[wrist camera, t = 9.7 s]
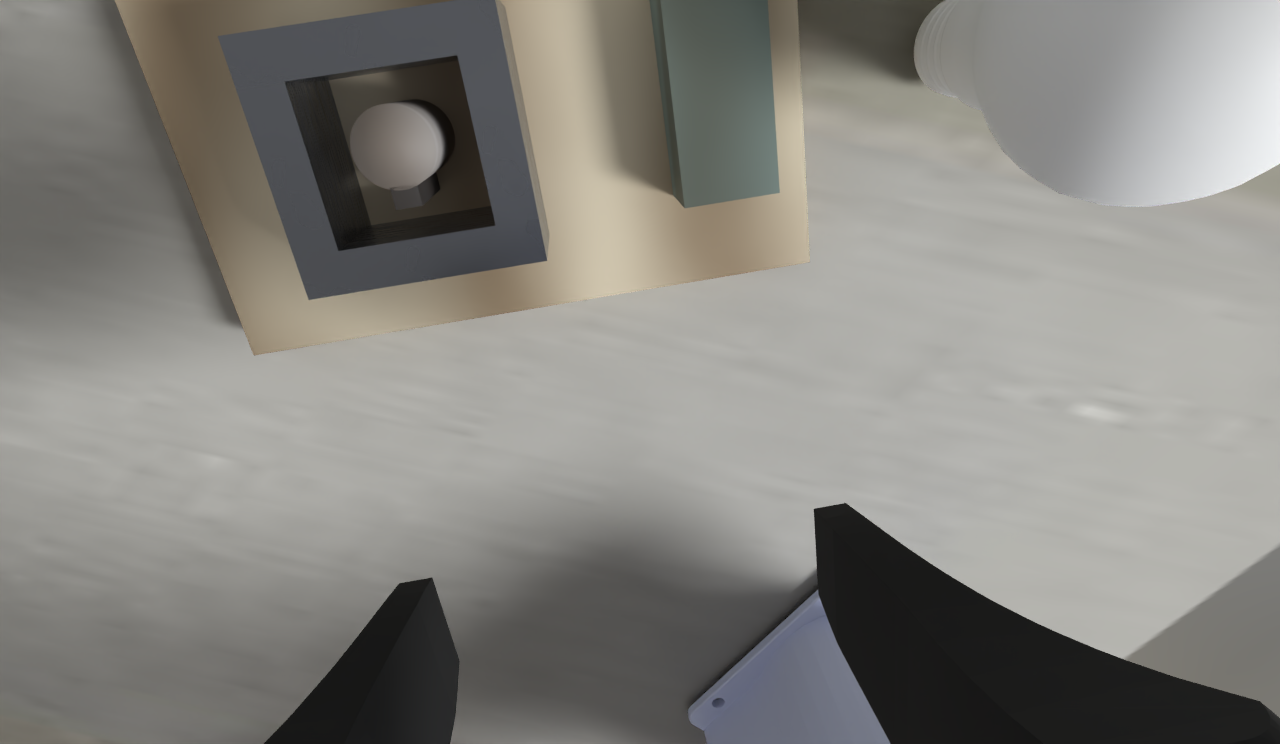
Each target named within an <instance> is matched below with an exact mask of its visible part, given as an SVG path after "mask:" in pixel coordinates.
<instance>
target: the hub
mask: <svg viewBox="0 0 1280 744" xmlns="http://www.w3.org/2000/svg"><path fill="white" fill-rule="evenodd" d="M218 39H219V42H220V45H221V48H222V50H223V53H224V56H225V59H226V62H227V65H228V68H229V71H230V74H231V77H232V79H233V82H234V85H235V88H236V91H237V94H238V97H239V100H240V103H241V106H242V108H243V111H244V114H245V117H246V120H247V123H248V126H249V129H250V132H251V134H252V137H253V140H254V143H255V146H256V149H257V152H258V155H259V158H260V161H261V163H262V166H263V169H264V172H265V175H266V178H267V181H268V184H269V187H270V189H271V192H272V195H273V198H274V201H275V204H276V207H277V210H278V213H279V216H280V218H281V221H282V224H283V227H284V230H285V233H286V236H287V239H288V242H289V245H290V247H291V250H292V253H293V256H294V259H295V262H296V265H297V268H298V271H299V273H300V276H301V279H302V282H303V285H304V288H305V291H306V294H307V297H308V300H312V299H318V298H324V297H331V296H337V295H343V294H349V293H355V292H361V291H367V290H373V289H379V288H385V287H391V286H397V285H403V284H410V283H416V282H422V281H428V280H434V279H440V278H446V277H452V276H458V275H464V274H470V273H476V272H482V271H489V270H495V269H501V268H507V267H513V266H519V265H525V264H531V263H537V262H543V261H547V258H548V247H549V235H550V234H549V229H548V224H547V218H546V213H545V208H544V203H543V198H542V193H541V188H540V182H539V177H538V172H537V167H536V162H535V157H534V152H533V147H532V141H531V136H530V131H529V126H528V121H527V116H526V111H525V105H524V100H523V95H522V90H521V85H520V80H519V75H518V69H517V64H516V59H515V54H514V49H513V44H512V39H511V34H510V28H509V23H508V18H507V13H506V8H505V6H504V5H503V4H502V3H501V2H500V0H453V1H447V2H440V3H433V4H427V5H420V6H413V7H407V8H400V9H393V10H387V11H380V12H374V13H367V14H360V15H354V16H347V17H340V18H334V19H327V20H321V21H314V22H307V23H301V24H294V25H287V26H281V27H274V28H267V29H261V30H254V31H248V32H241V33H234V34H228V35H221V36H218ZM458 60H459V65H460V69H461V74H462V78H463V83H464V87H465V92H466V96H467V101H468V105H469V109H470V114H471V118H472V123H473V127H474V132H475V136H476V141H477V145H478V150H479V154H480V158H481V163H482V167H483V172H484V176H485V181H486V185H487V190H488V194H489V199H490V203H491V206H488V207H481V208H475V209H469V210H463V211H457V212H450V213H444V214H438V215H432V216H426V217H419V218H413V219H407V220H401V221H395V222H388V223H382V224H376V225H371V222H370V219H369V216H368V212H367V209H366V205H365V202H364V199H363V195H362V192H361V188H360V185H359V182H358V178H357V175H356V172H355V168H354V165H353V161H352V158H351V155H350V151H349V148H348V144H347V141H346V138H345V134H344V131H343V127H342V124H341V121H340V117H339V114H338V110H337V107H336V104H335V100H334V97H333V94H332V90H331V87H330V83H329V80H335V79H341V78H348V77H354V76H361V75H367V74H374V73H380V72H387V71H393V70H400V69H406V68H413V67H419V66H426V65H432V64H439V63H445V62H452V61H458Z"/></svg>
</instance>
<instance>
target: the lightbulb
mask: <svg viewBox="0 0 1280 744" xmlns="http://www.w3.org/2000/svg"><path fill="white" fill-rule="evenodd" d="M914 62H915V67H916V70H917V73H918V75H919V77H920V78H921V80H922V82H923V83H924V84H925V85H926V86H927V87H928V88H930V89H931V90H933V91H935V92H937V93H940V94H943V95H946V96H949V97H955V98H958V99H959V100H960V101H961V102H963V103H964V104H966V105H968V106H969V107H972V108H975V109H978V110H981V111H982V113H983V115H984V118H985V120H986V122H987V125H988V127H989V129H990V131H991V133H992V134H993V136H994V137H995V139H996V141H997V142H998V144H999V146H1000V147H1001V149H1002V150H1003V152H1004V153H1005V154H1006V155H1007V156H1008V157H1009V158H1010V159H1011V160H1012V161H1013V162H1014V163H1015V164H1016V165H1017V166H1018V167H1019V168H1020V169H1022V170H1023V171H1025V172H1026V173H1027V174H1029V175H1030V176H1032V177H1033V178H1034V179H1036V180H1037V181H1039V182H1041V183H1042V184H1044V185H1046V186H1048V187H1049V188H1051V189H1053V190H1054V191H1056V192H1058V193H1060V194H1064V195H1067V196H1070V197H1074V198H1077V199H1081V200H1084V201H1088V202H1092V203H1096V204H1100V205H1107V206H1126V207H1142V206H1159V205H1165V204H1172V203H1178V202H1184V201H1189V200H1193V199H1198V198H1202V197H1206V196H1211V195H1213V194H1216V193H1219V192H1222V191H1225V190H1227V189H1230V188H1233V187H1236V186H1239V185H1241V184H1243V183H1245V182H1247V181H1249V180H1250V179H1252V178H1254V177H1256V176H1258V175H1260V174H1262V173H1264V172H1265V171H1267V170H1269V169H1271V168H1273V167H1275V166H1276V165H1278V164H1280V0H945V1H943V2H941V3H940V4H938V5H937V6H936V7H935V8H934V9H933V10H931V12H930V13H929V14H928V15H927V17H926V18H925V19H924V21H923V23H922V24H921V26H920V28H919V31H918V33H917V36H916V40H915V45H914Z"/></svg>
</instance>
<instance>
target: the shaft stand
mask: <svg viewBox="0 0 1280 744" xmlns="http://www.w3.org/2000/svg"><path fill="white" fill-rule="evenodd" d="M447 1H453V0H115V2H116V5H117V7H118V10H119V12H120V15H121V18H122V20H123V23H124V25H125V28H126V30H127V33H128V35H129V38H130V41H131V43H132V46H133V48H134V51H135V53H136V56H137V58H138V61H139V64H140V66H141V69H142V71H143V74H144V76H145V79H146V81H147V84H148V87H149V89H150V92H151V94H152V97H153V99H154V102H155V104H156V107H157V109H158V112H159V115H160V117H161V120H162V122H163V125H164V127H165V130H166V132H167V135H168V138H169V140H170V143H171V145H172V148H173V150H174V153H175V155H176V158H177V161H178V163H179V166H180V168H181V171H182V173H183V176H184V178H185V181H186V184H187V186H188V189H189V191H190V194H191V196H192V199H193V201H194V204H195V207H196V209H197V212H198V214H199V217H200V219H201V222H202V224H203V227H204V230H205V232H206V235H207V237H208V240H209V242H210V245H211V247H212V250H213V252H214V255H215V258H216V260H217V263H218V265H219V268H220V270H221V273H222V275H223V278H224V281H225V283H226V286H227V288H228V291H229V293H230V296H231V298H232V301H233V304H234V306H235V309H236V311H237V314H238V316H239V319H240V321H241V324H242V327H243V329H244V332H245V334H246V337H247V339H248V342H249V344H250V347H251V350H252V352H253V355H259V354H265V353H271V352H277V351H283V350H289V349H295V348H301V347H307V346H313V345H319V344H325V343H331V342H337V341H343V340H349V339H355V338H361V337H367V336H372V335H378V334H384V333H390V332H396V331H402V330H408V329H414V328H420V327H426V326H432V325H438V324H444V323H450V322H456V321H462V320H468V319H474V318H480V317H486V316H492V315H498V314H504V313H510V312H516V311H522V310H528V309H534V308H540V307H546V306H551V305H557V304H563V303H569V302H575V301H581V300H587V299H593V298H599V297H605V296H611V295H617V294H623V293H629V292H635V291H641V290H647V289H653V288H659V287H665V286H671V285H677V284H683V283H689V282H695V281H701V280H707V279H713V278H719V277H725V276H730V275H736V274H742V273H748V272H754V271H760V270H766V269H772V268H778V267H784V266H790V265H796V264H802V263H808V262H810V254H809V233H808V212H807V191H806V170H805V149H804V128H803V107H802V86H801V65H800V44H799V23H798V2H797V0H500V2H501V3H502V4H503V5H504V6H505V8H506V13H507V18H508V23H509V28H510V34H511V39H512V44H513V49H514V54H515V59H516V64H517V69H518V75H519V80H520V85H521V90H522V95H523V100H524V105H525V111H526V116H527V121H528V126H529V131H530V136H531V141H532V147H533V152H534V157H535V162H536V167H537V172H538V177H539V182H540V188H541V193H542V198H543V203H544V208H545V213H546V218H547V224H548V229H549V234H550V235H549V247H548V258H547V261H543V262H537V263H531V264H525V265H519V266H513V267H507V268H501V269H495V270H489V271H482V272H476V273H470V274H464V275H458V276H452V277H446V278H440V279H434V280H428V281H422V282H416V283H410V284H403V285H397V286H391V287H385V288H379V289H373V290H367V291H361V292H355V293H349V294H343V295H337V296H331V297H324V298H318V299H312V300H308V297H307V294H306V291H305V288H304V285H303V282H302V279H301V276H300V273H299V271H298V268H297V265H296V262H295V259H294V256H293V253H292V250H291V247H290V245H289V242H288V239H287V236H286V233H285V230H284V227H283V224H282V221H281V218H280V216H279V213H278V210H277V207H276V204H275V201H274V198H273V195H272V192H271V189H270V187H269V184H268V181H267V178H266V175H265V172H264V169H263V166H262V163H261V161H260V158H259V155H258V152H257V149H256V146H255V143H254V140H253V137H252V134H251V132H250V129H249V126H248V123H247V120H246V117H245V114H244V111H243V108H242V106H241V103H240V100H239V97H238V94H237V91H236V88H235V85H234V82H233V79H232V77H231V74H230V71H229V68H228V65H227V62H226V59H225V56H224V53H223V50H222V48H221V45H220V42H219V39H218V36H221V35H228V34H234V33H241V32H248V31H254V30H261V29H267V28H274V27H281V26H287V25H294V24H301V23H307V22H314V21H321V20H327V19H334V18H340V17H347V16H354V15H360V14H367V13H374V12H380V11H387V10H393V9H400V8H407V7H413V6H420V5H427V4H433V3H440V2H447ZM329 83H330V87H331V90H332V94H333V97H334V100H335V104H336V107H337V110H338V114H339V117H340V121H341V124H342V127H343V131H344V134H345V138H346V141H347V144H348V148H349V151H350V155H351V158H352V161H353V165H354V168H355V172H356V175H357V178H358V182H359V185H360V188H361V192H362V195H363V199H364V202H365V205H366V209H367V212H368V216H369V219H370V222H371V225H376V224H382V223H388V222H395V221H401V220H407V219H413V218H419V217H426V216H432V215H438V214H444V213H450V212H457V211H463V210H469V209H475V208H481V207H488V206H491V203H490V199H489V194H488V190H487V185H486V181H485V176H484V172H483V167H482V163H481V158H480V154H479V150H478V145H477V141H476V136H475V132H474V127H473V123H472V118H471V114H470V109H469V105H468V101H467V96H466V92H465V87H464V83H463V78H462V74H461V69H460V65H459V60H458V61H452V62H445V63H439V64H432V65H426V66H419V67H413V68H406V69H400V70H393V71H387V72H380V73H374V74H367V75H361V76H354V77H348V78H341V79H335V80H329Z"/></svg>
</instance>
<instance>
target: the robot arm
mask: <svg viewBox="0 0 1280 744" xmlns="http://www.w3.org/2000/svg"><path fill="white" fill-rule="evenodd" d="M814 519H815V538H816V557H817V576H818V590H817V591H816V592H815V593H813V594H812V595H811V596H810V597H809V598H808V599H807V600H806V601H805V602H804V603H803V604H801V605H800V606H799V607H798V608H797V609H796V610H795V611H794V612H793V613H792V614H791V615H789V616H788V617H787V618H786V619H785V620H784V621H783V622H782V623H781V624H780V625H779V626H777V627H776V628H775V629H774V630H773V631H772V632H771V633H770V634H769V635H768V636H767V637H765V638H764V639H763V640H762V641H761V642H760V643H759V644H758V645H757V646H756V647H755V648H753V649H752V650H751V651H750V652H749V653H748V654H747V655H746V656H745V657H744V658H743V659H741V660H740V661H739V662H738V663H737V664H736V665H735V666H734V667H733V668H732V669H731V670H729V671H728V672H727V673H726V674H725V675H724V676H723V677H722V678H721V679H720V680H719V681H717V682H716V683H715V684H714V685H713V686H712V687H711V688H710V689H709V690H708V691H707V692H705V693H704V694H703V695H702V696H701V697H700V698H699V699H698V700H697V701H696V702H695V703H693V704H692V705H691V706H690V708H689V709H688V717H689V721H690V723H691V724H693V725H694V726H696V727H698V728H699V729H701V730H703V731H704V733H705V738H706V743H707V744H1280V718H1279V717H1278V716H1277V715H1275V714H1274V713H1273V712H1272V711H1271V710H1270V709H1268V708H1267V707H1266V706H1265V705H1263V704H1262V703H1261V702H1260V701H1256V700H1253V699H1249V698H1246V697H1242V696H1239V695H1235V694H1231V693H1228V692H1225V691H1221V690H1218V689H1214V688H1211V687H1207V686H1204V685H1200V684H1197V683H1193V682H1190V681H1186V680H1183V679H1179V678H1176V677H1173V676H1170V675H1167V674H1164V673H1161V672H1158V671H1155V670H1152V669H1149V668H1147V667H1144V666H1141V665H1138V664H1135V663H1132V662H1129V661H1126V660H1124V659H1121V658H1118V657H1116V656H1113V655H1110V654H1108V653H1105V652H1102V651H1100V650H1097V649H1095V648H1092V647H1090V646H1088V645H1085V644H1083V643H1080V642H1078V641H1076V640H1073V639H1071V638H1069V637H1066V636H1064V635H1062V634H1059V633H1057V632H1055V631H1052V630H1050V629H1048V628H1046V627H1044V626H1041V625H1039V624H1037V623H1035V622H1033V621H1031V620H1029V619H1027V618H1025V617H1023V616H1021V615H1019V614H1017V613H1015V612H1013V611H1011V610H1009V609H1007V608H1005V607H1003V606H1001V605H999V604H997V603H995V602H994V601H992V600H990V599H988V598H986V597H984V596H983V595H981V594H979V593H977V592H976V591H974V590H972V589H971V588H969V587H967V586H966V585H964V584H962V583H961V582H959V581H957V580H956V579H954V578H952V577H951V576H949V575H947V574H946V573H944V572H943V571H941V570H940V569H938V568H936V567H935V566H933V565H932V564H930V563H929V562H927V561H926V560H924V559H923V558H921V557H920V556H918V555H917V554H915V553H914V552H912V551H911V550H909V549H908V548H907V547H905V546H904V545H902V544H901V543H900V542H898V541H897V540H895V539H894V538H893V537H891V536H890V535H889V534H887V533H886V532H884V531H883V530H882V529H880V528H879V527H878V526H876V525H875V524H873V523H872V522H871V521H869V520H868V519H867V518H865V517H864V516H863V515H861V514H860V513H859V512H857V511H856V510H854V509H853V508H852V507H850V506H849V505H848V504H846V503H844V504H839V505H833V506H827V507H822V508H816V509H814ZM458 673H459V658H458V655H457V652H456V649H455V646H454V643H453V640H452V637H451V634H450V631H449V628H448V625H447V622H446V619H445V616H444V613H443V610H442V606H441V603H440V600H439V597H438V594H437V591H436V588H435V585H434V582H433V579H432V578H427V579H422V580H416V581H411V582H405V583H400V584H399V585H398V586H397V587H396V588H395V589H394V591H393V592H392V593H391V594H390V596H389V597H388V598H387V600H386V601H385V602H384V603H383V605H382V606H381V607H380V609H379V610H378V611H377V612H376V614H375V615H374V616H373V618H372V619H371V620H370V621H369V623H368V624H367V625H366V627H365V628H364V629H363V630H362V632H361V633H360V634H359V636H358V637H357V638H356V639H355V641H354V642H353V643H352V644H351V646H350V647H349V648H348V649H347V651H346V652H345V653H344V654H343V656H342V657H341V658H340V659H339V661H338V662H337V663H336V664H335V666H334V667H333V668H332V669H331V670H330V672H329V673H328V674H327V675H326V676H325V677H324V678H323V680H322V681H321V682H320V683H319V684H318V685H317V686H316V688H315V689H314V690H313V691H312V692H311V693H310V694H309V696H308V697H307V698H306V699H305V700H304V701H303V702H302V704H301V705H300V706H299V707H298V708H297V709H296V710H295V712H294V713H293V714H292V715H291V716H290V717H289V718H288V719H287V720H286V721H285V722H284V723H283V725H282V726H281V727H280V728H279V729H278V730H277V731H276V732H275V733H274V734H273V735H272V736H271V737H270V738H269V739H268V740H267V741H266V742H265V743H264V744H450V740H451V735H452V730H453V725H454V719H455V713H456V701H457V689H458ZM716 698H720V699H717V700H714V699H716Z"/></svg>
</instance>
